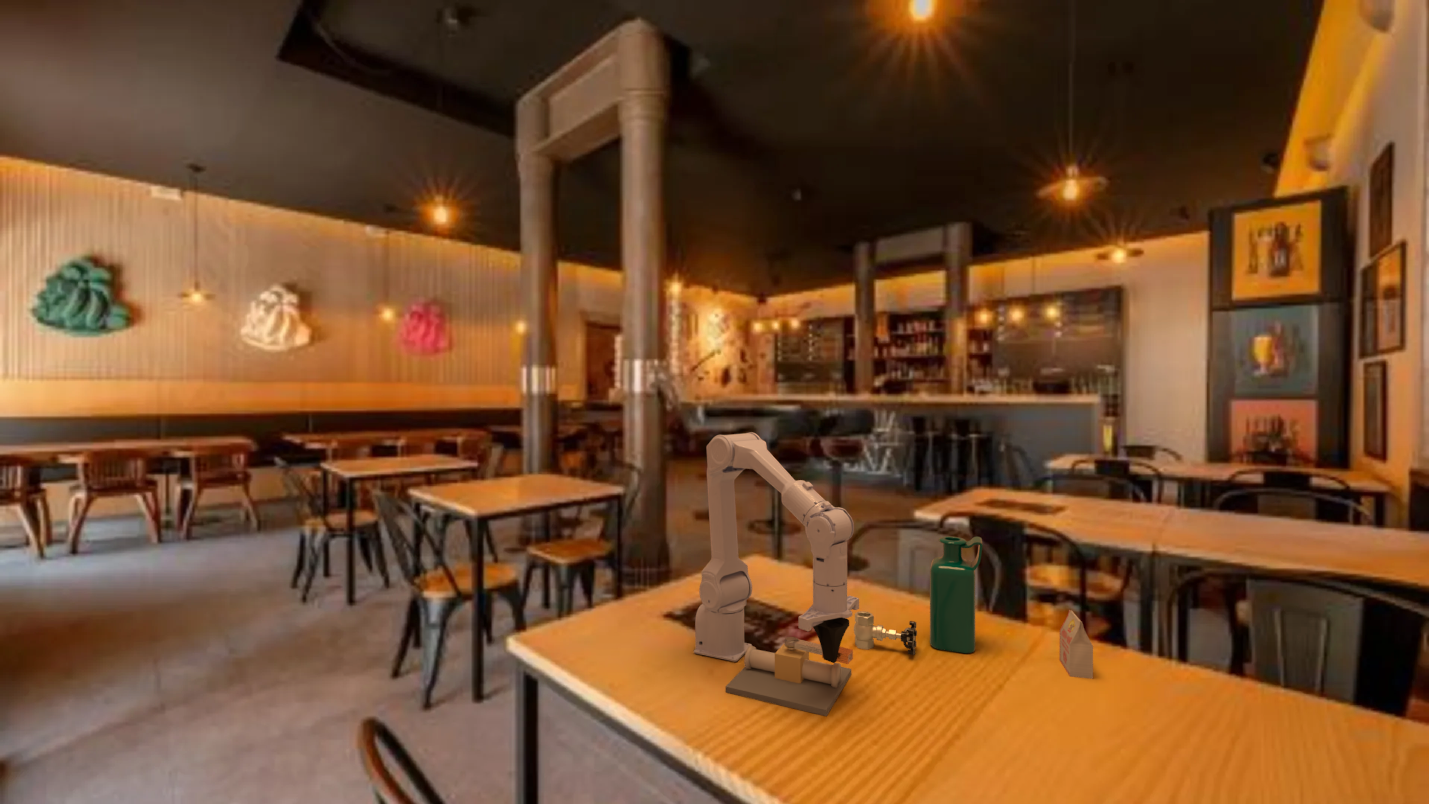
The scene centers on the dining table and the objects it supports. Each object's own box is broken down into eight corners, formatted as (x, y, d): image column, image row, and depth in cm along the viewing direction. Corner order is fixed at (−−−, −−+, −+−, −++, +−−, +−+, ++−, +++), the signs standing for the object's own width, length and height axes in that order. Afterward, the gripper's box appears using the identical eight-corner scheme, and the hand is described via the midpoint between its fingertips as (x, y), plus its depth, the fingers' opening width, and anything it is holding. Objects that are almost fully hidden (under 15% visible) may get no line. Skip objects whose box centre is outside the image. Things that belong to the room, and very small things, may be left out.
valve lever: (782, 650, 110) (782, 639, 110) (788, 644, 112) (788, 634, 112) (847, 666, 103) (847, 655, 103) (853, 660, 105) (853, 649, 105)
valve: (850, 650, 123) (912, 661, 118) (850, 618, 123) (912, 627, 118) (857, 638, 129) (917, 648, 124) (857, 607, 129) (917, 616, 124)
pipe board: (725, 692, 106) (725, 661, 106) (760, 655, 121) (760, 628, 121) (826, 716, 98) (826, 683, 98) (851, 674, 113) (851, 645, 112)
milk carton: (1081, 662, 117) (1081, 610, 116) (1092, 678, 110) (1093, 623, 110) (1059, 660, 118) (1059, 608, 117) (1069, 676, 111) (1070, 621, 111)
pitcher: (929, 649, 123) (929, 540, 122) (931, 633, 131) (931, 531, 130) (982, 657, 119) (982, 544, 119) (981, 640, 127) (981, 534, 127)
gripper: (823, 597, 96) (823, 683, 96) (874, 577, 106) (874, 654, 106) (788, 586, 101) (788, 668, 101) (840, 568, 111) (840, 642, 111)
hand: (830, 660), depth 104 cm, fingers closed
